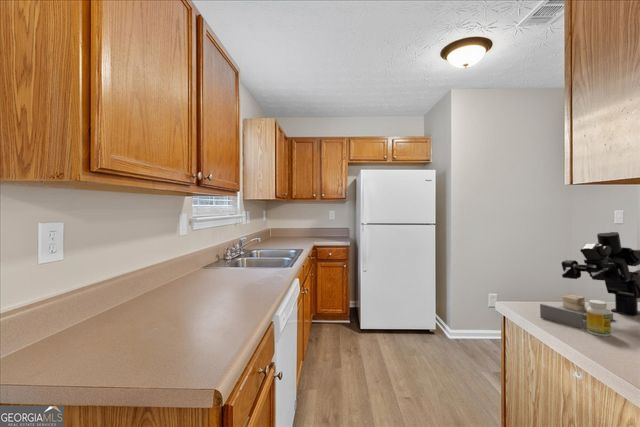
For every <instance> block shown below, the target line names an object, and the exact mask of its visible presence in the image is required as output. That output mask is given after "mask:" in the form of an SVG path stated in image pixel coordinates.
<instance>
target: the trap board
mask: <svg viewBox="0 0 640 427" xmlns="http://www.w3.org/2000/svg"><path fill="white" fill-rule="evenodd" d="M587 308H588V307H587V306H585V309H582V310H578V311H577V310H572V309H568V308H564V307H563V305H561V306H560V305H559V306H552V305H548V304H544V303H540V304H539V312H540V313H539V314H540V316H539V317H540V318H542V319H543V318H544V319H547V320H550V321H553V322H554V321H555V322H557V323H562V324H564V325H569V326H572V327H575V328H579V329H585V328H587ZM613 319H614V313H613V312H610V321H611V320H613Z"/></svg>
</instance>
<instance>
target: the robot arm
mask: <svg viewBox="0 0 640 427" xmlns="http://www.w3.org/2000/svg"><path fill="white" fill-rule="evenodd" d="M596 235H597V237H596V238H597V243H585V244H584V245H583V246H582V248H580V253H581V254H582V255H583V257H584V258H585V259H584V260H583V262H584V264H579V262H578V261H576V260H574V259H573V260H569V259H567V260H563V261H562V262H561V268H562V270H563V272H562V274H561V276H562V278H564V279H572V280H577V279H579V278H581V277H582V272H583V273H584V272H587V274H589V278H591V280H593V281H603V282H604V284H605V286H606V292H607V294H613V295H614V301H615V302H614V304H615V305H614V306H615V308H612V309H610V311H611V312H612V313H613V312H614V313H619V314H621V315H622V314H623V315H626V316H627V315H628V316H633V317H634V316H638V315H640V310H639V308H638V299H640V269H637V270H635V271H630V269H629V267H638V266H639V265H640V249H632V248H631V247H624V246H623V247H622V245H621V243H622V242H621V238H620V233H619V232H618V231H616V232H615V231H610V232H603V233H600V232H599V233H597V234H596Z"/></svg>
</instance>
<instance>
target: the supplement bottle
mask: <svg viewBox="0 0 640 427" xmlns="http://www.w3.org/2000/svg"><path fill="white" fill-rule="evenodd" d="M588 305H589V306H588V307H587V327H586V330H587V332H588V333H589V334H592V335H594V336H598V337H609V336H611V333H612V332H611V330H612V329H611V327H612V326H611V325H612V324H611V320H610V313H611V312H610V311H611V310H609V309H607V307H608V303H607V302H606V301H603V300H599V299H590V300H589V301H588Z"/></svg>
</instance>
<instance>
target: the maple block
mask: <svg viewBox="0 0 640 427" xmlns="http://www.w3.org/2000/svg"><path fill="white" fill-rule="evenodd" d="M585 300H586V299H585V297H584V296H578V295H576V294H575V295H573V294H567V295H563V296H562V306H563V307H564V308H568V309H572V310H577V311H578V310H582V309H585V307H586V304H585V303H586V301H585Z"/></svg>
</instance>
